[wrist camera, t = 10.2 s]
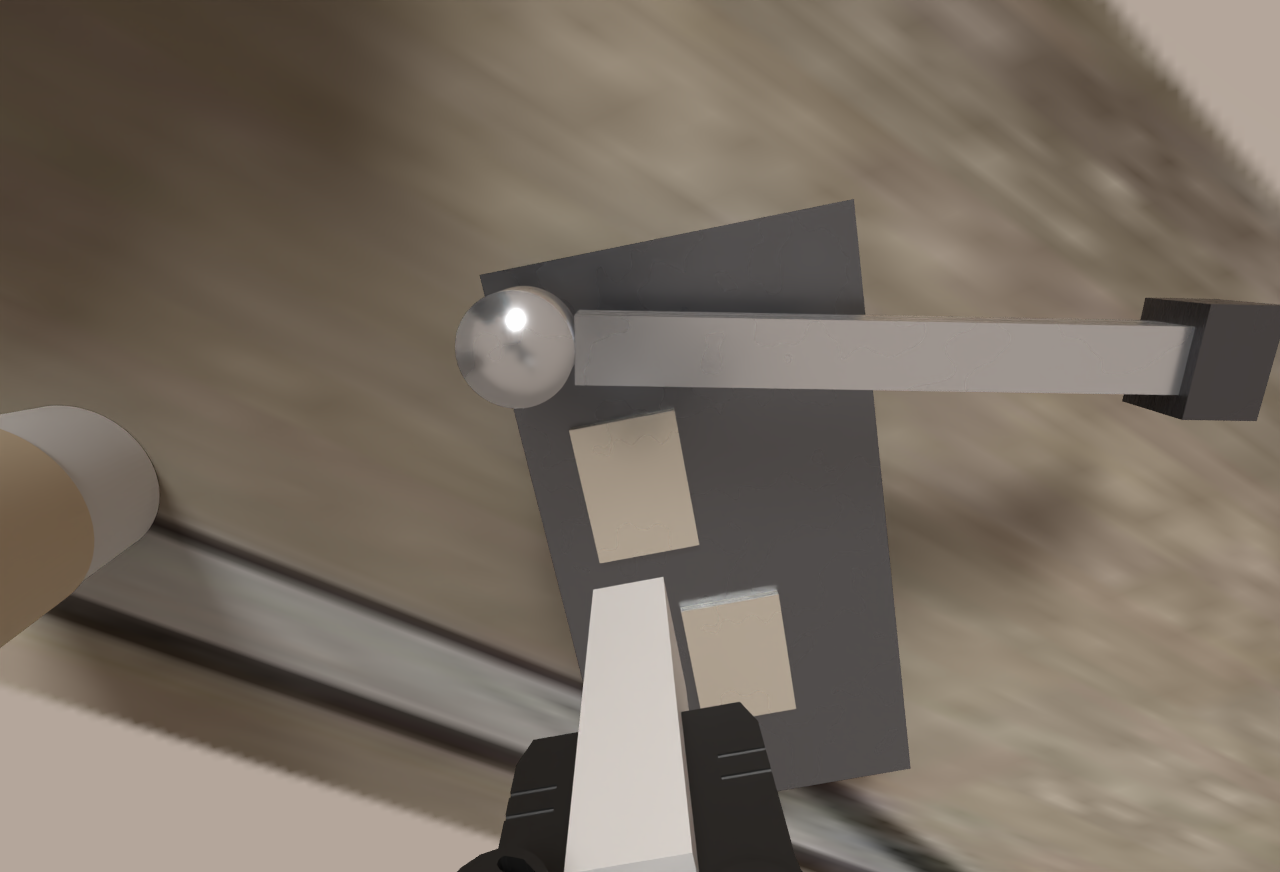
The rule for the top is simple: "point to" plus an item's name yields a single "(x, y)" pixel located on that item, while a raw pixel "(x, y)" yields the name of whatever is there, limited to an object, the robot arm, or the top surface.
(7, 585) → the coffee cup
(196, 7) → the top surface
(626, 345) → the grey long bar
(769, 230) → the lever switch
